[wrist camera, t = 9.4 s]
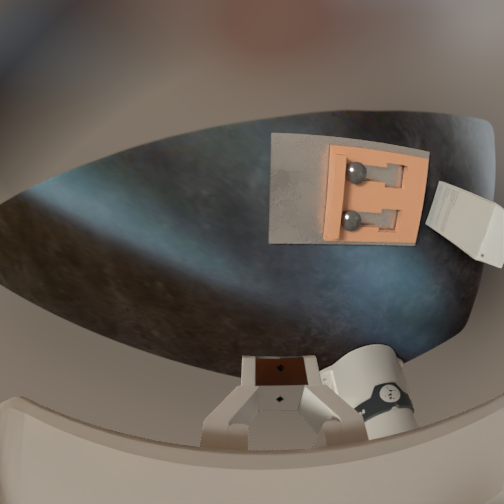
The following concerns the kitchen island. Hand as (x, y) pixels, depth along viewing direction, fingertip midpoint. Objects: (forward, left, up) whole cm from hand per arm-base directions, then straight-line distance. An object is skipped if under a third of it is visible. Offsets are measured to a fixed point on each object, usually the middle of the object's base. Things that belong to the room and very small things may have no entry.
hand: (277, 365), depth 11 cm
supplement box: (+1, -29, -26) cm, 39 cm away
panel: (+2, -15, -25) cm, 29 cm away
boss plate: (+2, -12, -26) cm, 29 cm away
